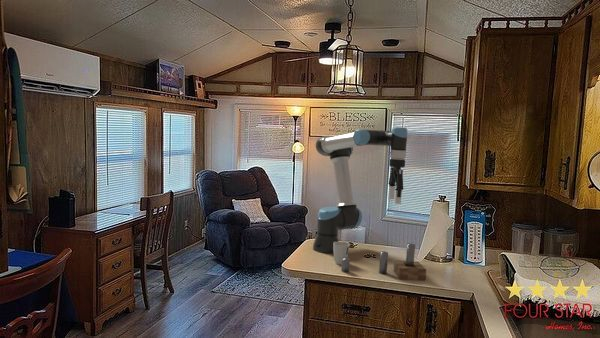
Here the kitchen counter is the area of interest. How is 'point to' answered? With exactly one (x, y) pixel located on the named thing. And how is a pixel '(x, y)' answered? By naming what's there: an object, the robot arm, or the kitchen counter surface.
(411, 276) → the hole block
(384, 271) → the pin medium
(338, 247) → the cup
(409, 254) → the pin long
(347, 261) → the pin short
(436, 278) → the kitchen counter surface
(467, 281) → the kitchen counter surface
